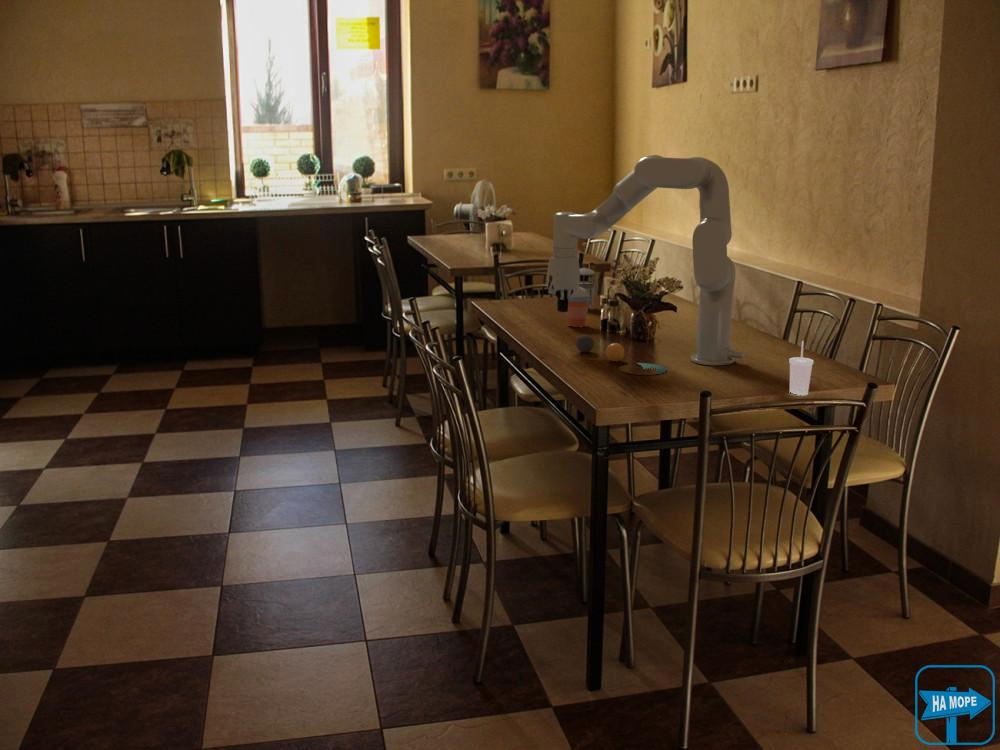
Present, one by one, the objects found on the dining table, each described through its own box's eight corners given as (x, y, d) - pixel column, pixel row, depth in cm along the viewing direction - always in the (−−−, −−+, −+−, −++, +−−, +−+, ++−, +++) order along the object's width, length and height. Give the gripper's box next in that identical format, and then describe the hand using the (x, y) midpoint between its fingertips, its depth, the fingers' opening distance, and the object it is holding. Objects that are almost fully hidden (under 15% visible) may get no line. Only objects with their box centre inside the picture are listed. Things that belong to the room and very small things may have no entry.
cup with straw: (587, 329, 333) (588, 276, 329) (561, 328, 335) (562, 276, 331) (590, 323, 342) (591, 273, 338) (564, 322, 344) (565, 272, 339)
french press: (583, 304, 378) (584, 240, 371) (604, 309, 369) (606, 243, 363) (564, 307, 372) (566, 242, 365) (586, 312, 363) (587, 245, 357)
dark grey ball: (596, 351, 301) (596, 333, 300) (590, 355, 297) (590, 337, 295) (579, 349, 304) (580, 332, 302) (573, 353, 299) (573, 335, 297)
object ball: (626, 360, 290) (627, 342, 289) (620, 364, 285) (621, 346, 284) (609, 358, 292) (609, 340, 291) (602, 362, 288) (603, 344, 286)
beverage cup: (809, 397, 252) (814, 344, 248) (785, 394, 254) (789, 342, 250) (811, 391, 257) (816, 339, 254) (787, 389, 259) (791, 337, 256)
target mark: (672, 366, 282) (673, 366, 282) (658, 377, 270) (658, 377, 270) (626, 361, 288) (626, 361, 288) (610, 372, 276) (611, 371, 276)
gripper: (576, 249, 307) (573, 307, 312) (537, 252, 299) (536, 311, 303) (591, 252, 301) (588, 311, 306) (552, 255, 293) (550, 315, 297)
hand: (562, 311), depth 304 cm, fingers closed
